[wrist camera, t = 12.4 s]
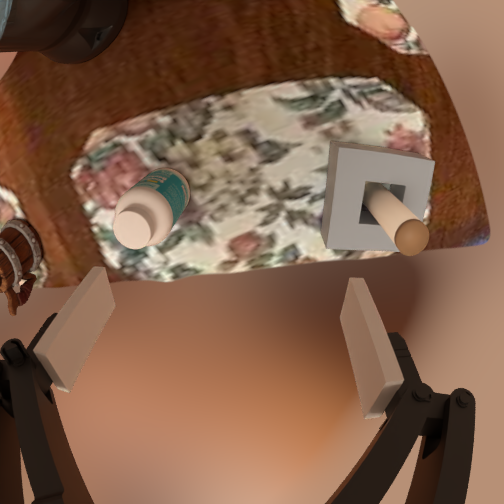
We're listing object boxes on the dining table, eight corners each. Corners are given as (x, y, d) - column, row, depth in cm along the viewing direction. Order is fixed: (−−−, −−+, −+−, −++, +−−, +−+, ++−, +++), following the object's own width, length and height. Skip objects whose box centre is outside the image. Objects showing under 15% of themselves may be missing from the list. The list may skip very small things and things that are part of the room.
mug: (24, 204, 44) (-20, 255, 32) (62, 259, 52) (31, 315, 41) (-3, 223, 46) (-41, 270, 34) (32, 271, 55) (4, 321, 43)
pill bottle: (176, 157, 40) (141, 187, 29) (200, 201, 43) (176, 246, 32) (135, 180, 42) (91, 216, 30) (158, 221, 45) (125, 268, 34)
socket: (330, 140, 38) (338, 147, 34) (418, 153, 38) (434, 161, 34) (320, 232, 45) (326, 248, 41) (402, 237, 45) (414, 252, 40)
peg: (360, 178, 41) (401, 220, 28) (385, 181, 40) (433, 223, 27) (356, 204, 43) (393, 255, 30) (381, 206, 42) (423, 256, 29)
